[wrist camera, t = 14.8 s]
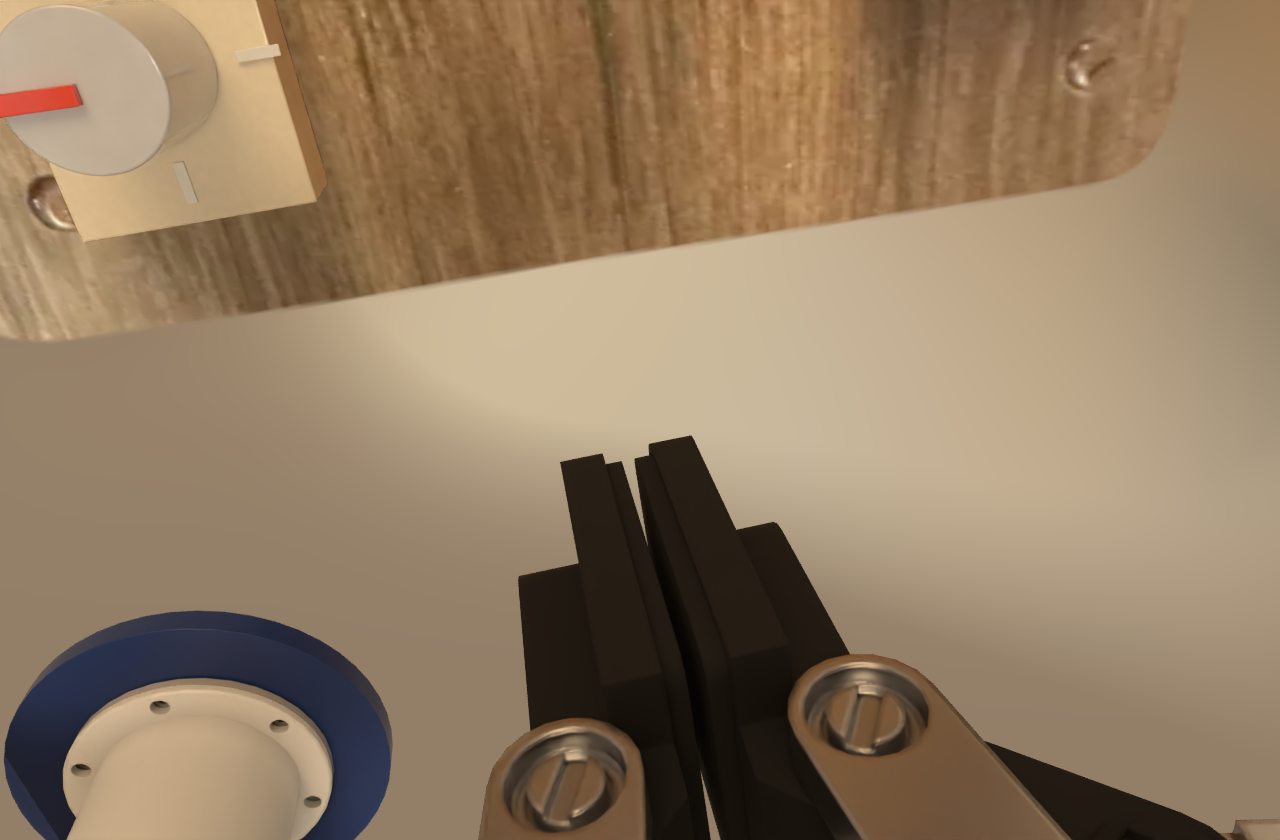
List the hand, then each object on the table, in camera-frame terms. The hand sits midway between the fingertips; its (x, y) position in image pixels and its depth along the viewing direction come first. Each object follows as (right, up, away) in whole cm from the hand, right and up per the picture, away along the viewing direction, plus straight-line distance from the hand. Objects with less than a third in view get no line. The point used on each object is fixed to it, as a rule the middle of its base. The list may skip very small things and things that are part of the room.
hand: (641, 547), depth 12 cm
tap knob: (-16, +13, +18) cm, 27 cm away
